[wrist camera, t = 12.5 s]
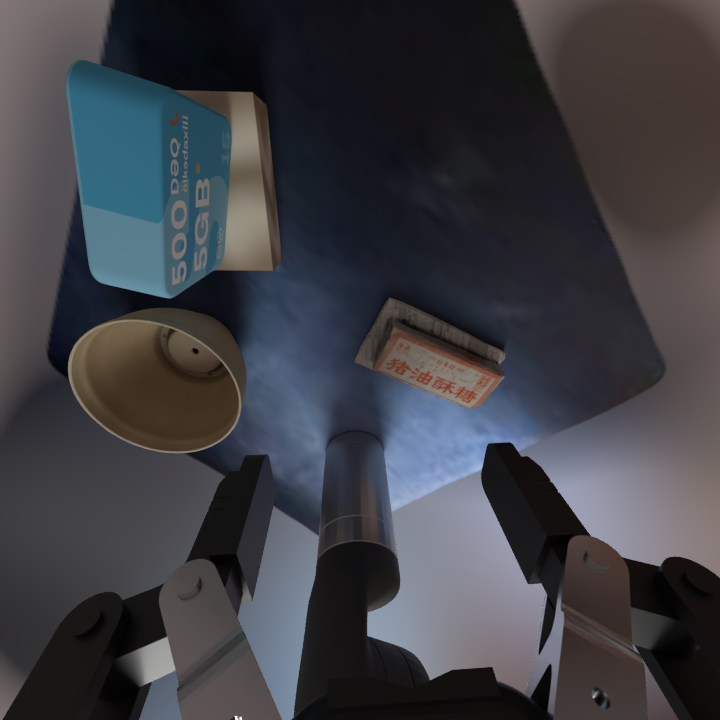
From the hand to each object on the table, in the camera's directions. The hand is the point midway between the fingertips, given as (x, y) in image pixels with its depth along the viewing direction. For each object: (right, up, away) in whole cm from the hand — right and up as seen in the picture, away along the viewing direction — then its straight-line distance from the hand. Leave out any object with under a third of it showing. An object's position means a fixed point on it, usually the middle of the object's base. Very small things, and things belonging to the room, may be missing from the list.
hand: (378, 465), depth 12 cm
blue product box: (-15, +19, +17) cm, 29 cm away
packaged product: (+9, +5, +32) cm, 34 cm away
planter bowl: (-21, +6, +30) cm, 37 cm away
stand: (-15, +21, +21) cm, 34 cm away
